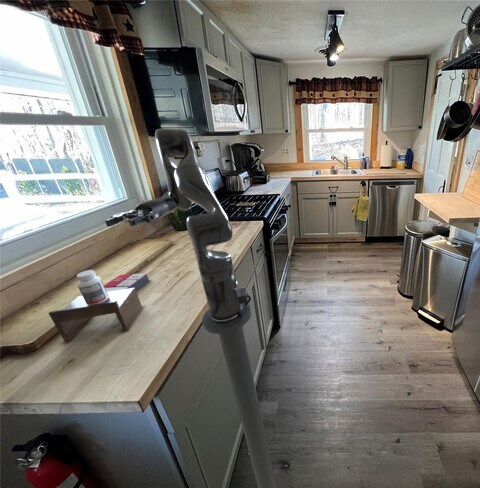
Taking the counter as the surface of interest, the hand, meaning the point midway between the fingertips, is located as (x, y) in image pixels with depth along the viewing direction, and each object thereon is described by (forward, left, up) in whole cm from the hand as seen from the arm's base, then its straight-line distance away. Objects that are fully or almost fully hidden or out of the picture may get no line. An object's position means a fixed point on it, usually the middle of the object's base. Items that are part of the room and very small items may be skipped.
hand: (118, 223), depth 85 cm
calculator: (+9, -6, -28) cm, 30 cm away
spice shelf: (+6, +14, -28) cm, 32 cm away
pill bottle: (+6, +14, -20) cm, 25 cm away
